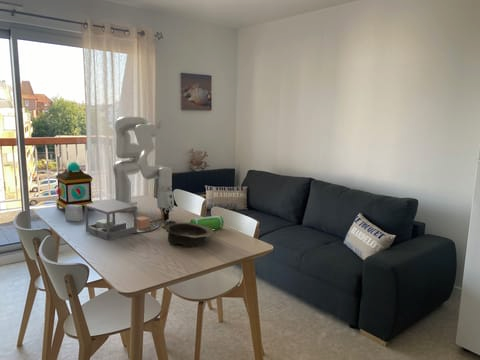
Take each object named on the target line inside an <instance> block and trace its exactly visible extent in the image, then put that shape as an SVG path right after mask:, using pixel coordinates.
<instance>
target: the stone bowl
mask: <svg viewBox="0 0 480 360" xmlns="http://www.w3.org/2000/svg"><path fill="white" fill-rule="evenodd" d="M161 228H162V229H164V230H165V231H166V233H168V234H167V242H168V244H170V245H177V244H182V245H183V247H184V248H193V247H198V246H199V245H202V244H204V241H205V240H206V238H207V237H209V236H212V235H213V233H214V230H212V229H211V228H208V227H206V226H203V225H199V224H195V223H190V222H176V221H175V220H174V221H173V220H169V221H166V223H165V224H164V226H163V225H162V226H161Z"/></svg>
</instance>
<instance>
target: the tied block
mask: <svg viewBox="0 0 480 360" xmlns="http://www.w3.org/2000/svg"><path fill="white" fill-rule="evenodd" d="M164 213H165V211H161V210H160V218H157V219H153V220H151V219H150V217H147V216H138V217H137V230H138V229H139V230H144V229H147V227H148V228H150V227H151V224H152V223H157V222H159V221H161V222H162V223H164V222H168V221H167V220H164Z"/></svg>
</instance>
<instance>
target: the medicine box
mask: <svg viewBox="0 0 480 360" xmlns="http://www.w3.org/2000/svg"><path fill="white" fill-rule="evenodd" d="M64 213H65V221H66V222H78V223H79V222H81V221H82V220H83V207H82V205H67V206H65V209H64Z"/></svg>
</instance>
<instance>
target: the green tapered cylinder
mask: <svg viewBox="0 0 480 360" xmlns="http://www.w3.org/2000/svg"><path fill="white" fill-rule="evenodd" d="M189 223H195V224H199V225H203V226H206V227H208V228H211V229H216V230H220V229H222V228H223V227H224V218H223V217H222V216H220V215H213V216H211V215H210V216H203V217H202V216H201V217H194V218H192V219H190V221H189ZM219 228H220V229H219Z"/></svg>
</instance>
